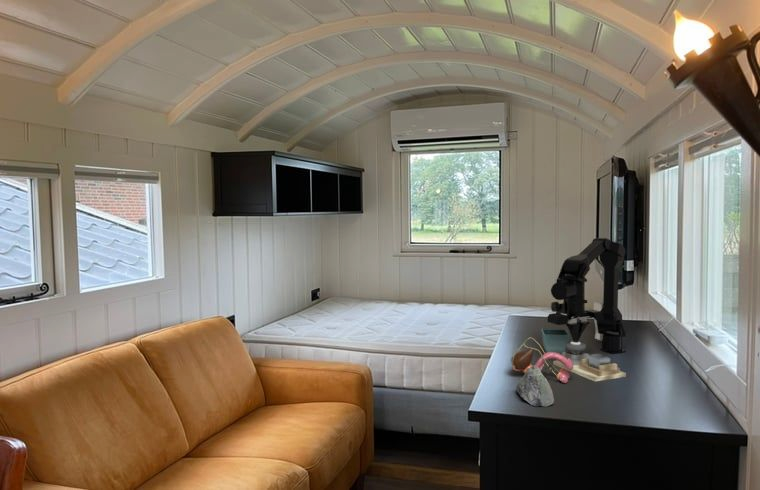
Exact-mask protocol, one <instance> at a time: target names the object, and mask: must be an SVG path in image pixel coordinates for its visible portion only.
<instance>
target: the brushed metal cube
mask: <svg viewBox="0 0 760 490" xmlns="http://www.w3.org/2000/svg"><path fill="white" fill-rule="evenodd" d="M607 364H611V357H609V356H607V355H604V354H602V353H592V354H589V366H590V367H593V368H595V369H598V370H599V366H600V365H607Z"/></svg>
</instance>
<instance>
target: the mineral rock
mask: <svg viewBox="0 0 760 490" xmlns="http://www.w3.org/2000/svg"><path fill="white" fill-rule="evenodd" d="M516 390H517V392H518V395H520V397H521V398H522V399H523V400H525V401H526V402H527V403H528V404H530V405H531V406H534V407H544V408H545V407H549V406H551V405H553V404H555V398H554V394H553V393H554V392H553V390H552V388H551V385H550V383H549V382H548V379H547V378H546V377H545V376H544V375H543V372H542V370H541V371H540V370H539V368H538V367H537V366H535V364H534V365H532V367H530V368H528V369H527V372H526V373H524V375H523V376H522V377H520V379H519V380H518V382H517V385H516Z"/></svg>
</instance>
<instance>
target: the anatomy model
mask: <svg viewBox="0 0 760 490" xmlns="http://www.w3.org/2000/svg"><path fill="white" fill-rule="evenodd" d="M530 339H532V340H533V341H534V342H535V343H536V344H537V345H538V346H539V347H540V349H541V350H542V352H543V354H542V352H541V351H540V350H539V349H537V348H534V347H533V346H532V347H529V346H527V345H526V342H527V341H528V340H530ZM523 346H524V347H525V348H527V349H526V350H525V349H524V350H521V349H522V347H523ZM534 350H535V351H537V352H539V354H540V355H541V356H540V357H539V358H538V360H537V361H536V363H535V364H534V365H535V366H537V367H538V368H539V370H540V371H541V372H542V369H543V367H544V365H545V364H546V365H547V367H545V370H546V372H547V374H549V373H550V372H552V373H553V374H554V375H555V376H556V378H557V379H558V380H559V381H560V382H561V383H562V384H568V382H569V379H570V376H571V375H570V373H569V371H568V370H572V369H573V363H572V362H571V359H570V358H568V359H567V358H566V357H564V356H563V355H561V354H559V353H555V352H548V353H546V351H544V349H543V347H542V346H541V344H540V343H539V342H538V341H537V340H536V339H535V338H534V337H532V336H530V337H528V338H526V339H525V341H523V343H522V344H521V345H520V347H519V348H517V350H516V351H515V352H514V354H513V356H511V358H510V359H511V361H510V362H511V364H512V369H513V370H514V371H517V372H521V371H523V374H525V373H526V372H527V369H528V368H530V367H532V366H533V364H531V363H532V361H533V358H534ZM550 360H554V361H559V362H561V363H562V364H563V365H565V367H566V368H567V369H568V370H565V369H563V368H559V370H558V369H557V368H556V366H555V365H553V363H552V362H551V361H550ZM547 362H548V363H549V364H550V365H549V364H548V363H547ZM554 370H556V371H557V372H558V373H555V371H554Z"/></svg>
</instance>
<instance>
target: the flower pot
mask: <svg viewBox="0 0 760 490" xmlns="http://www.w3.org/2000/svg"><path fill="white" fill-rule="evenodd" d="M541 339H542V345H543V348H544V350H545V351H544V352H545V353H548V352H555V353H559V354H561V355H562V352H566V351H568V350H566V349H565V343H567V342H570V334H569V332H568V330H567V329H561V328H560V329H559V328H558V329H556V328H555V329H554V328H541Z"/></svg>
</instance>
